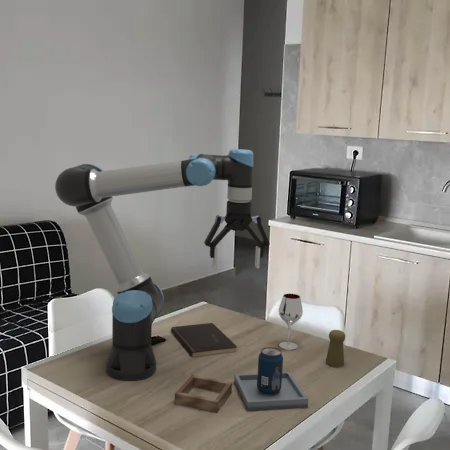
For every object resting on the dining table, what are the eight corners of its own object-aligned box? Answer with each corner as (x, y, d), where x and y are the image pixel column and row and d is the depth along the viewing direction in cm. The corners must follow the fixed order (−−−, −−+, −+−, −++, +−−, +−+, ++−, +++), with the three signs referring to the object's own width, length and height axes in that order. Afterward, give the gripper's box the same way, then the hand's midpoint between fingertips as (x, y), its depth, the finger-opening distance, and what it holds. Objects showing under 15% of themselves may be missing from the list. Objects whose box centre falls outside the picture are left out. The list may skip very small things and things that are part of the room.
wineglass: (294, 353, 198) (297, 301, 194) (272, 347, 202) (275, 296, 198) (304, 345, 205) (307, 295, 201) (282, 339, 209) (286, 291, 205)
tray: (247, 410, 158) (248, 402, 158) (234, 382, 175) (234, 374, 174) (307, 407, 162) (308, 398, 161) (289, 379, 178) (289, 371, 178)
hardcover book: (212, 328, 218) (212, 322, 217) (237, 353, 197) (237, 346, 197) (170, 333, 212) (170, 327, 211) (191, 358, 191) (191, 352, 190)
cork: (346, 361, 193) (349, 330, 190) (341, 368, 187) (344, 336, 185) (328, 357, 195) (330, 326, 193) (323, 364, 190) (325, 332, 187)
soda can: (262, 382, 173) (265, 344, 170) (284, 389, 170) (287, 349, 167) (252, 392, 167) (254, 352, 164) (274, 398, 164) (277, 358, 161)
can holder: (174, 403, 160) (174, 393, 160) (191, 384, 172) (191, 374, 171) (217, 412, 157) (217, 402, 156) (231, 392, 168) (232, 382, 168)
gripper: (275, 199, 186) (271, 264, 190) (196, 198, 181) (194, 264, 185) (282, 202, 179) (277, 270, 183) (200, 201, 174) (198, 271, 178)
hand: (235, 267), depth 184 cm, fingers open, 13 cm apart
